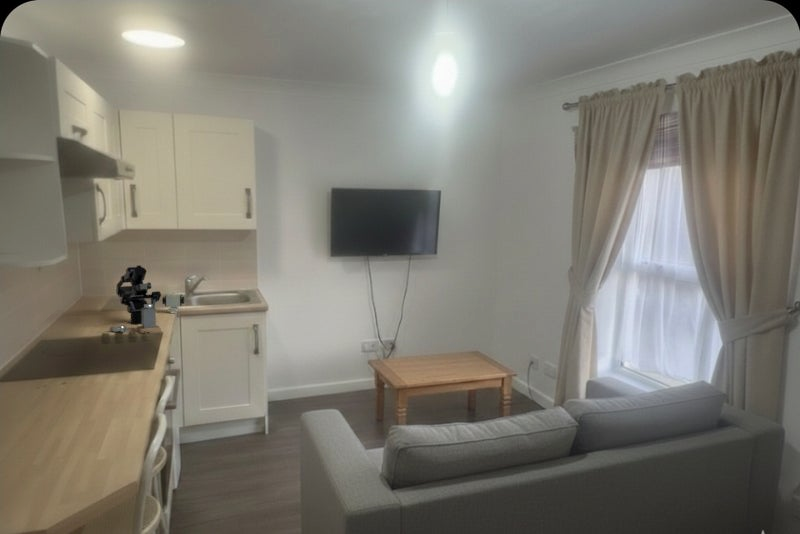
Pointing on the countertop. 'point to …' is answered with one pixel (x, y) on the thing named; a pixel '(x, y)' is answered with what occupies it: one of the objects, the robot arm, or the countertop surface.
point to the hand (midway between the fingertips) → (144, 310)
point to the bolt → (118, 329)
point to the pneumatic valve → (173, 302)
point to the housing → (148, 316)
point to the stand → (149, 329)
